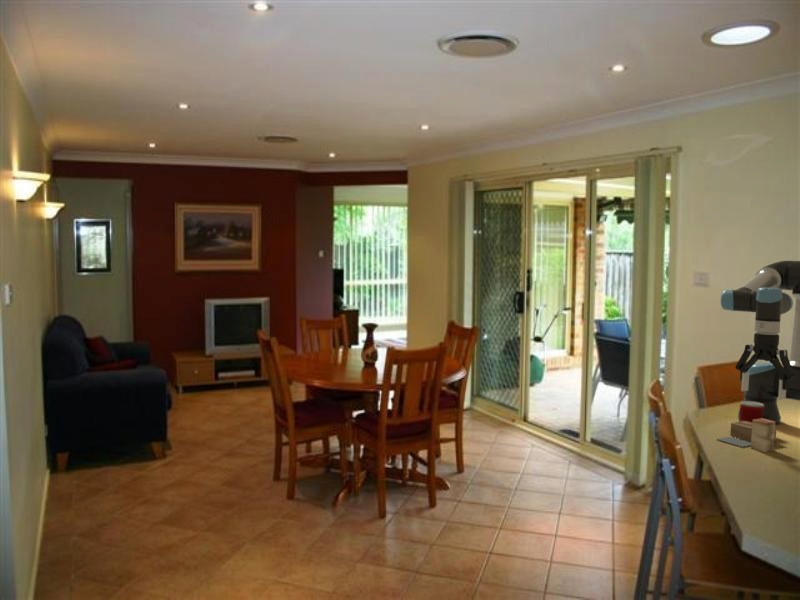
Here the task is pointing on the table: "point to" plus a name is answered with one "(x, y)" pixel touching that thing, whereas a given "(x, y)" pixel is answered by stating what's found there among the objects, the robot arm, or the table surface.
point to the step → (743, 430)
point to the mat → (735, 441)
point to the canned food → (751, 411)
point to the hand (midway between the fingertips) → (762, 394)
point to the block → (763, 435)
